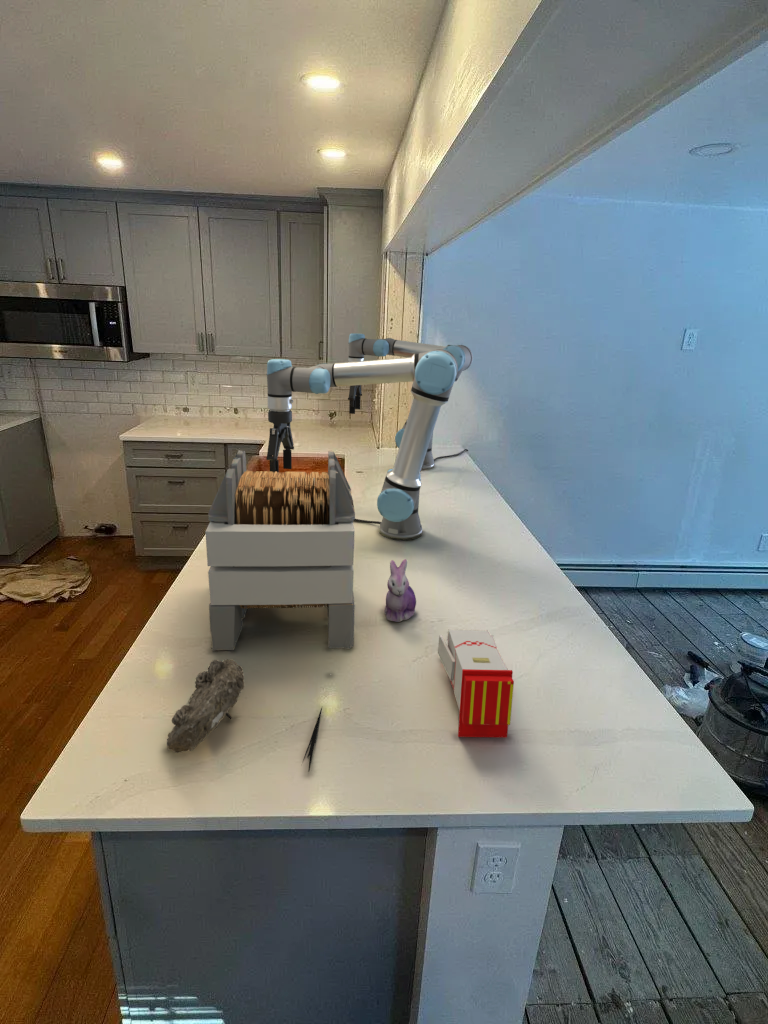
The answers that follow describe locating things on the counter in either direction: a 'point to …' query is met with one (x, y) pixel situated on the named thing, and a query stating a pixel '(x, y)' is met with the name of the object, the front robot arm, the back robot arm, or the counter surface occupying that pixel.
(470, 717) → the toy
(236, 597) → the record crate
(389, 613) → the figurine
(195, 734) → the fossil
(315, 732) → the feather
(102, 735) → the counter surface
